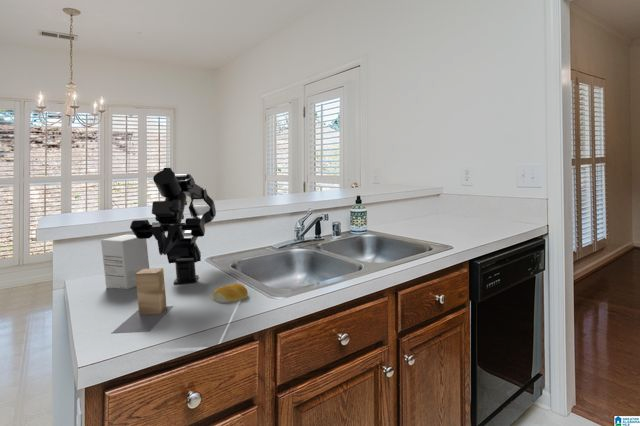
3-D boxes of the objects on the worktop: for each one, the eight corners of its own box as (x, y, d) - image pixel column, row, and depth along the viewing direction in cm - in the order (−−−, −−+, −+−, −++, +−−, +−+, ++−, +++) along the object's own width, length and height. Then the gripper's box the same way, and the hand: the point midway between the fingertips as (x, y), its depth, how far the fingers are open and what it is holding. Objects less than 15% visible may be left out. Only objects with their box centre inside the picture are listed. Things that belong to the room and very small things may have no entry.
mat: (141, 309, 92) (140, 307, 92) (173, 307, 93) (173, 305, 93) (111, 335, 78) (111, 333, 78) (149, 333, 78) (149, 331, 78)
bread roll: (253, 296, 100) (252, 282, 99) (227, 307, 93) (227, 292, 92) (233, 291, 105) (232, 277, 104) (207, 301, 98) (206, 286, 97)
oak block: (146, 307, 92) (142, 269, 91) (166, 306, 92) (163, 268, 91) (139, 314, 88) (135, 273, 87) (160, 313, 88) (156, 272, 87)
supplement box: (130, 279, 119) (125, 233, 117) (151, 281, 115) (147, 234, 114) (104, 288, 110) (99, 239, 108) (127, 291, 107) (122, 240, 105)
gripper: (129, 190, 100) (113, 238, 90) (199, 188, 101) (189, 235, 91) (144, 215, 109) (130, 261, 99) (208, 213, 109) (200, 258, 100)
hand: (162, 254), depth 97 cm, fingers closed
